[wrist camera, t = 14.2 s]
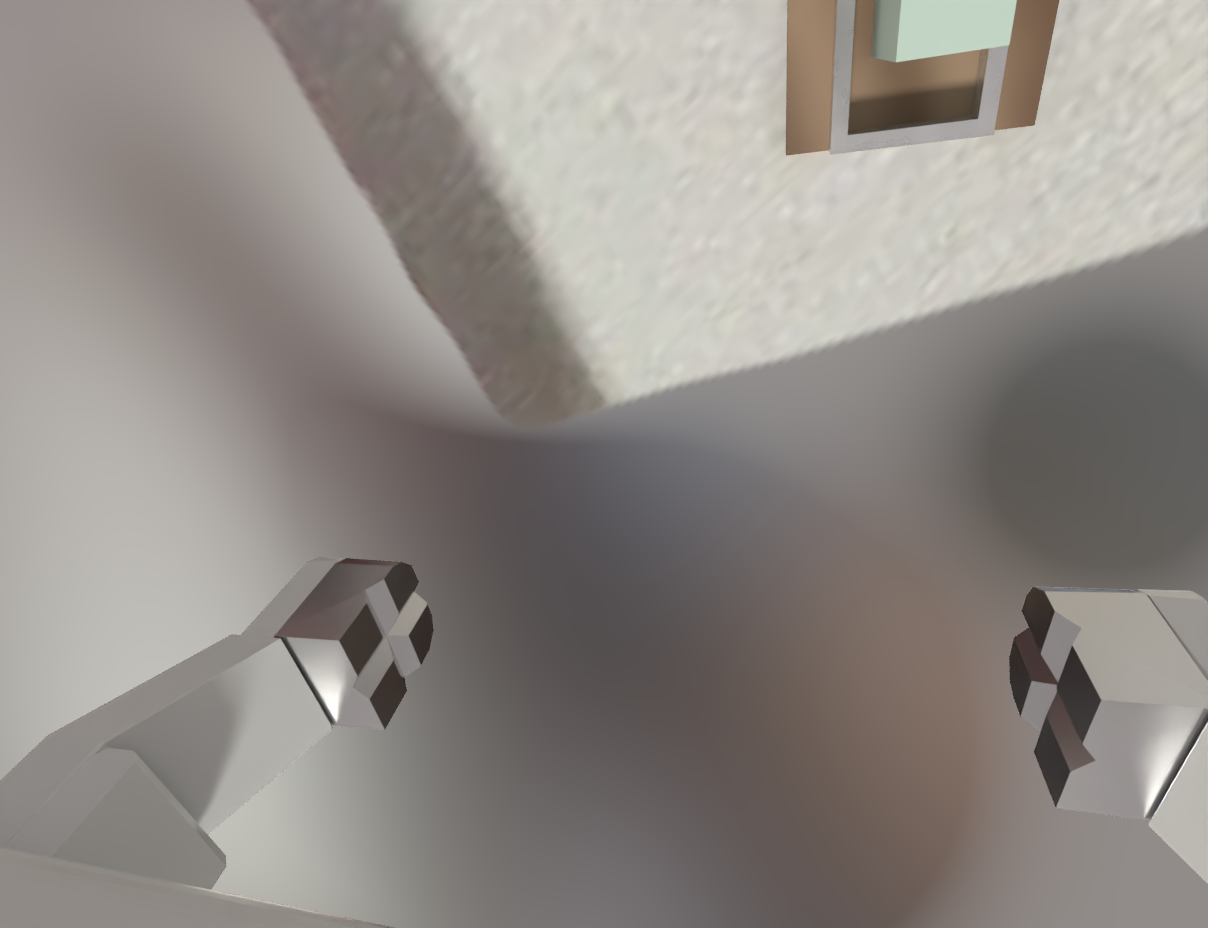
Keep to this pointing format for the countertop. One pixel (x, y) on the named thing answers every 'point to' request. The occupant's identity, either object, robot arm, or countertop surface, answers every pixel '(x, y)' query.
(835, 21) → the track rails
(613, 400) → the countertop surface
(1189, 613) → the robot arm
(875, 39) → the mint green rectangular block
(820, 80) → the track board
